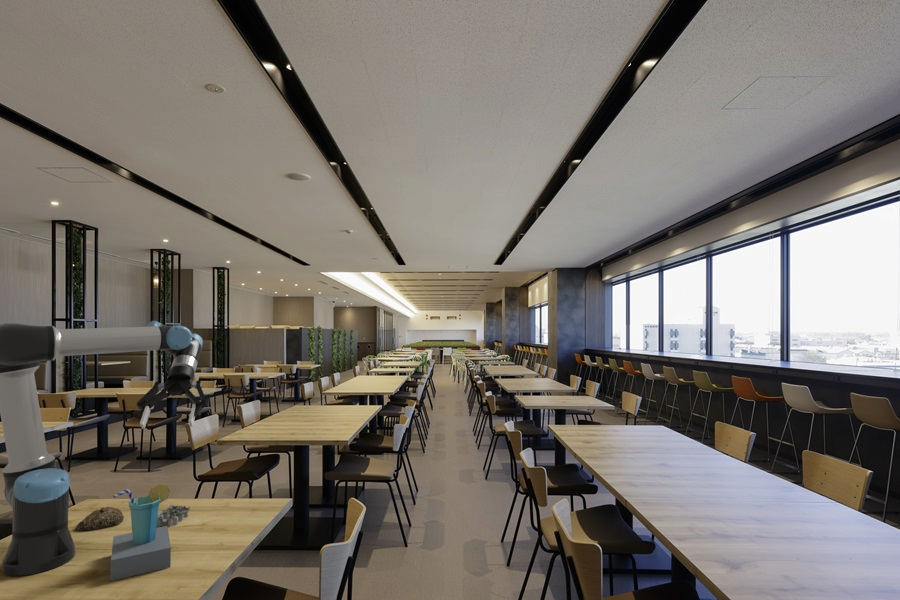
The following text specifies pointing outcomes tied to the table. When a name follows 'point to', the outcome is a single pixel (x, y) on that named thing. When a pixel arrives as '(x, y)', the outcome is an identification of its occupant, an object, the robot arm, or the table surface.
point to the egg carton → (172, 515)
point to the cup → (145, 513)
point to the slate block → (139, 555)
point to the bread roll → (101, 519)
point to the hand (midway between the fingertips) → (166, 425)
